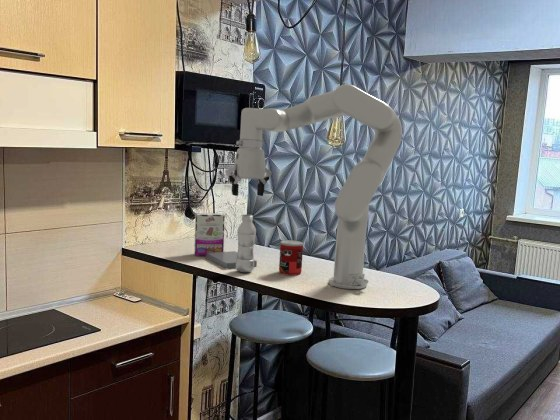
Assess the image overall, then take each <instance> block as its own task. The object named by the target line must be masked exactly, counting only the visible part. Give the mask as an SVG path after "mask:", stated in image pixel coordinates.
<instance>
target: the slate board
mask: <svg viewBox="0 0 560 420" xmlns="http://www.w3.org/2000/svg"><path fill="white" fill-rule="evenodd" d="M237 254H238V251H236V250H235V251H234V250H233V251H223V252H214V253H207V256H206V259H207V260H210V261H211V262H213V263H214V264H217V265H219V266H220V265H221V267H222V266H223V268H225V269H229V270H230V269H236V266H235V264H236V259H237ZM257 264H258V261H257V260H255V259H254V268H255V267H258V265H257Z"/></svg>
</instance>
